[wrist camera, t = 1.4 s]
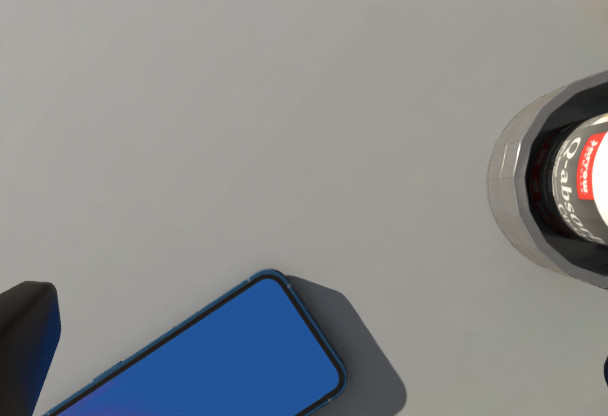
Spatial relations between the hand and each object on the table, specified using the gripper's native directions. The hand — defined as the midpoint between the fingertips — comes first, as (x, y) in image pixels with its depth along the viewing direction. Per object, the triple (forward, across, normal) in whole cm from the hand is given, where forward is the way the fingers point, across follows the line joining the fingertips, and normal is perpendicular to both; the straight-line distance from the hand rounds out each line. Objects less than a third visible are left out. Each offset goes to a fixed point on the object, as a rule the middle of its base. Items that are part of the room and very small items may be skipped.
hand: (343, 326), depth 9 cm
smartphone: (+14, +4, +16) cm, 22 cm away
